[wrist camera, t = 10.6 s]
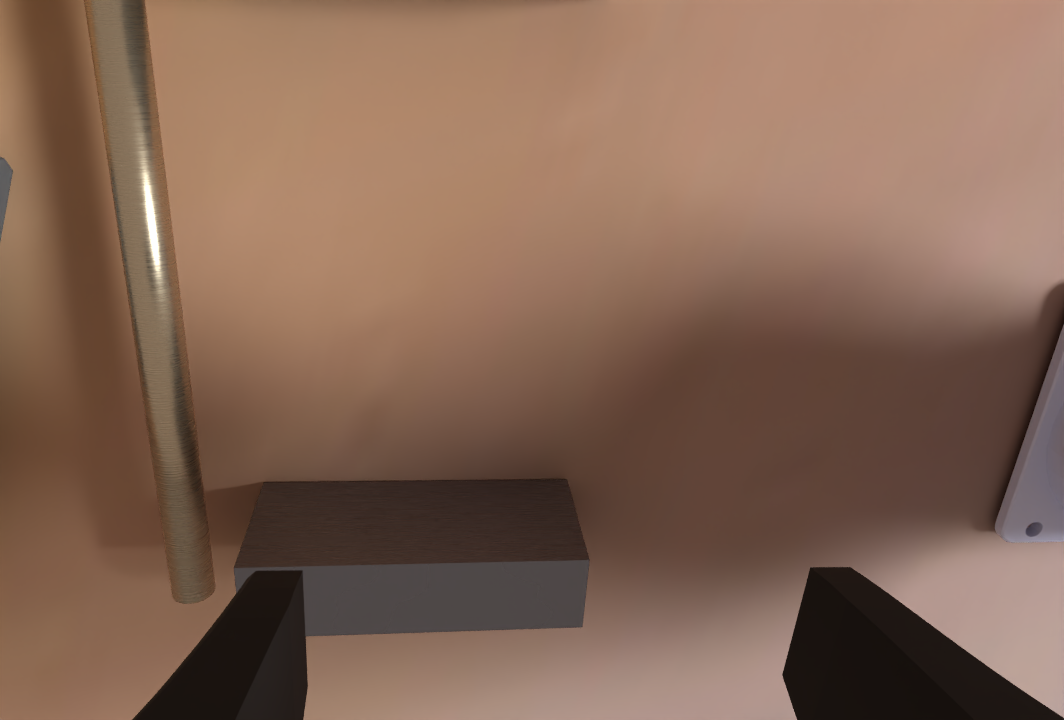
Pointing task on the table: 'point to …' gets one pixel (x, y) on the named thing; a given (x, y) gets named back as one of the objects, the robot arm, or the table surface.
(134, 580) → the table surface
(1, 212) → the bracket
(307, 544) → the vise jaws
